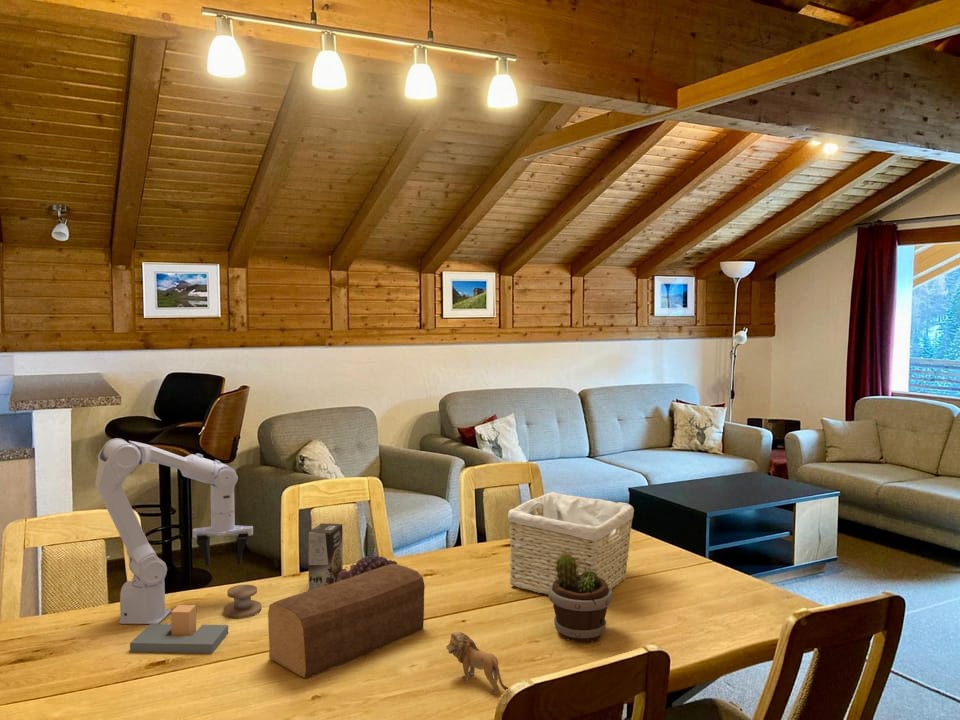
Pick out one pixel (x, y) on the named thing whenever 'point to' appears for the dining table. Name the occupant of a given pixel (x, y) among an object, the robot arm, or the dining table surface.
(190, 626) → the copper block
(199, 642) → the notched board
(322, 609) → the bread
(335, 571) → the coffee box
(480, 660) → the lion figurine
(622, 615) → the dining table surface
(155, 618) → the robot arm
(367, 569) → the purple lumpy cluster
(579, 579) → the flowerpot
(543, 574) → the basket
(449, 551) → the dining table surface
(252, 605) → the spool post
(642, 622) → the dining table surface
